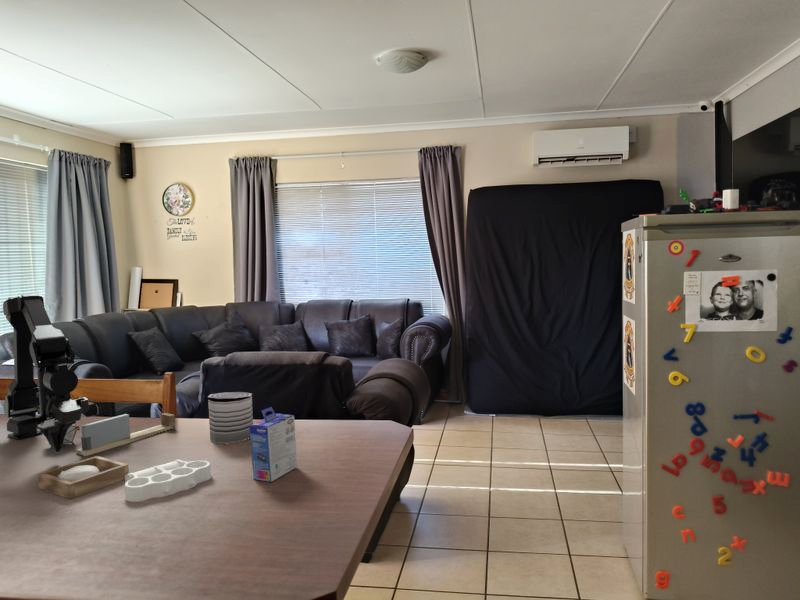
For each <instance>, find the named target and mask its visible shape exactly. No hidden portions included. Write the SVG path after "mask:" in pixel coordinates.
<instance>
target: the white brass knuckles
mask: <svg viewBox="0 0 800 600" xmlns="http://www.w3.org/2000/svg"><path fill="white" fill-rule="evenodd" d="M211 467H212V466H211V462H210V461H208V460H201V459H200V460H193V461H184V460H182V459H175V460H173V461H170V462H168V463H163V464H160V465H153V466H151V467H149V468H145V469H142V470H138V471H135V472H129V473H128V474H127V475H125V479H124V482H125V483H124V498H125V500H126V501H127V502H131V503H135V502H137V503H140V502H144V501H146V500H149V499H152V498H153V499H154V498H163V497H167V496H172V495H174V494H176V493H178V492H181V491H188V490H190V489H192V488H194V487H196V486H197V485H198V484H200V483H203V482H206V481H209V480H211V478H212V468H211ZM197 483H198V484H197Z"/></svg>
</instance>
